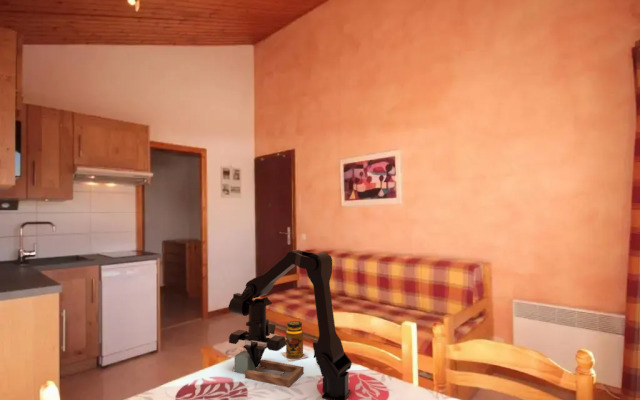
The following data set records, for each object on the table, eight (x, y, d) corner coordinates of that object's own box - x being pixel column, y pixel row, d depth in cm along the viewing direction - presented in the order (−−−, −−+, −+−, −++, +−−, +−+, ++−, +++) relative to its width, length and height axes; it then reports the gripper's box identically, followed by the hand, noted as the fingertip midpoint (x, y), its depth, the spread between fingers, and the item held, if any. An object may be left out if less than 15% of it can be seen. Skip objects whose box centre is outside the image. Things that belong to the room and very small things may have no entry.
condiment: (289, 361, 122) (289, 326, 122) (280, 353, 129) (280, 320, 130) (308, 357, 125) (308, 323, 126) (298, 349, 133) (298, 317, 133)
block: (256, 368, 116) (256, 352, 117) (247, 374, 112) (247, 358, 112) (243, 365, 118) (243, 350, 119) (234, 371, 114) (234, 355, 114)
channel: (303, 373, 112) (303, 366, 113) (289, 387, 103) (289, 380, 103) (262, 365, 118) (262, 359, 119) (244, 378, 109) (244, 371, 109)
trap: (296, 374, 112) (296, 373, 112) (286, 383, 106) (286, 382, 106) (284, 372, 113) (284, 371, 113) (274, 381, 107) (274, 379, 107)
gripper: (294, 314, 118) (293, 361, 117) (247, 308, 125) (247, 353, 125) (277, 323, 108) (277, 375, 107) (228, 317, 115) (227, 365, 114)
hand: (256, 366), depth 114 cm, fingers closed
